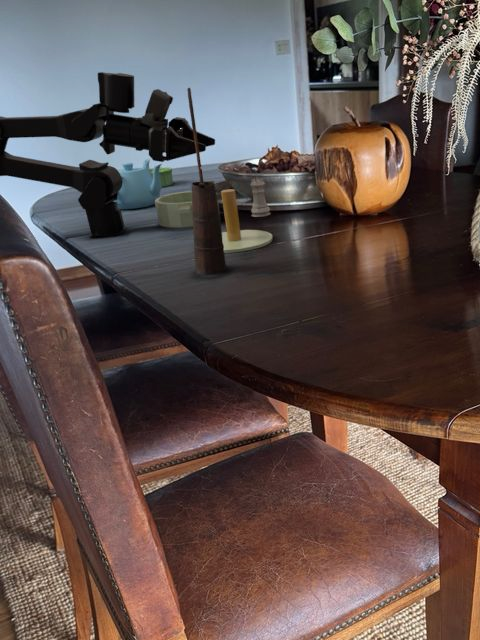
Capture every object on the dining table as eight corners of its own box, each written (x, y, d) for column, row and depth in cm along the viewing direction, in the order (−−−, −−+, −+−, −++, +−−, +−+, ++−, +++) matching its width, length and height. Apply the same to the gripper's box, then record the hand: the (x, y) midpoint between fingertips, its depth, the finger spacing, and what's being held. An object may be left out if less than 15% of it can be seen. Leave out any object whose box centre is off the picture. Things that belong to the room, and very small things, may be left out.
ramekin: (143, 185, 195) (140, 169, 193) (173, 181, 197) (170, 166, 195) (145, 189, 187) (142, 173, 185) (176, 185, 189) (173, 169, 187)
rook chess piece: (268, 219, 143) (264, 181, 138) (248, 219, 143) (244, 181, 139) (273, 214, 146) (269, 177, 142) (254, 214, 147) (250, 177, 143)
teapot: (112, 214, 160) (102, 170, 154) (102, 204, 171) (92, 163, 166) (170, 205, 165) (162, 162, 159) (156, 196, 176) (148, 156, 171)
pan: (155, 235, 137) (150, 208, 134) (163, 216, 153) (159, 192, 150) (219, 228, 138) (216, 202, 135) (220, 210, 154) (217, 186, 151)
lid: (196, 259, 118) (186, 202, 113) (199, 240, 130) (190, 187, 125) (275, 251, 119) (269, 193, 114) (270, 232, 131) (265, 180, 126)
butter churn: (232, 283, 104) (204, 88, 90) (176, 284, 106) (140, 93, 92) (246, 266, 112) (223, 84, 98) (194, 267, 114) (163, 89, 99)
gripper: (118, 91, 119) (202, 104, 119) (147, 85, 135) (221, 97, 135) (119, 155, 124) (199, 168, 125) (147, 143, 140) (218, 154, 141)
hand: (210, 144), depth 131 cm, fingers open, 9 cm apart
